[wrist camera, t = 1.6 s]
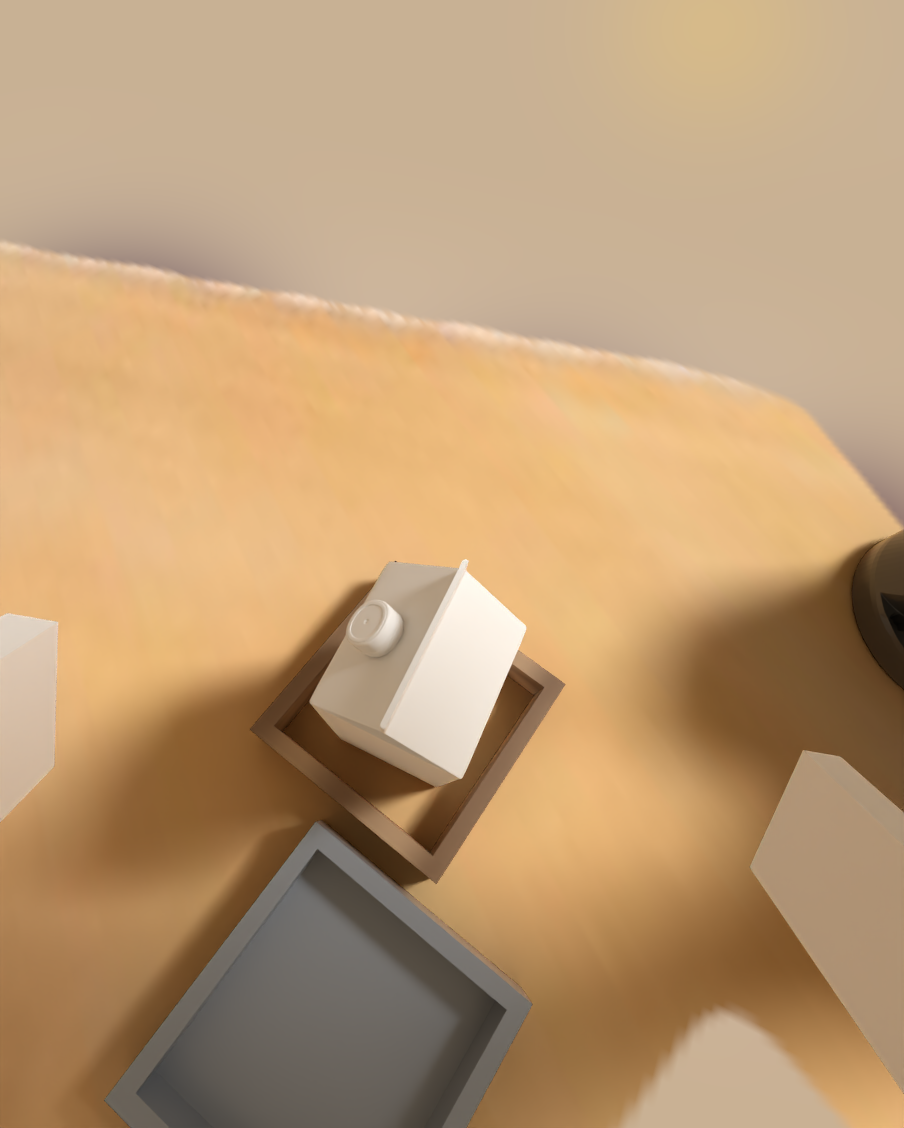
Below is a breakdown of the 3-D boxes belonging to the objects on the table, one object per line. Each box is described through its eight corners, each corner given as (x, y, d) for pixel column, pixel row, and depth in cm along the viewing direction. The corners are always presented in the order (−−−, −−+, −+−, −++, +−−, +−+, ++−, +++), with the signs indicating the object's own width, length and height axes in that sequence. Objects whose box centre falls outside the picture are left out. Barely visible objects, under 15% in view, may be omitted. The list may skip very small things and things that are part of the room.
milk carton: (481, 688, 40) (549, 597, 22) (437, 788, 37) (475, 775, 19) (389, 643, 40) (385, 521, 23) (339, 738, 37) (290, 683, 20)
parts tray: (521, 987, 33) (532, 1004, 30) (352, 1295, 28) (347, 1349, 25) (321, 820, 35) (315, 821, 33) (130, 1073, 30) (103, 1100, 27)
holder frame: (553, 692, 40) (565, 684, 37) (433, 877, 35) (436, 884, 32) (395, 576, 42) (395, 560, 39) (260, 734, 37) (249, 729, 34)
